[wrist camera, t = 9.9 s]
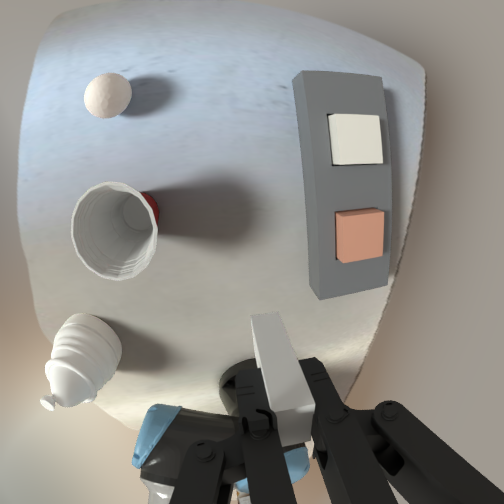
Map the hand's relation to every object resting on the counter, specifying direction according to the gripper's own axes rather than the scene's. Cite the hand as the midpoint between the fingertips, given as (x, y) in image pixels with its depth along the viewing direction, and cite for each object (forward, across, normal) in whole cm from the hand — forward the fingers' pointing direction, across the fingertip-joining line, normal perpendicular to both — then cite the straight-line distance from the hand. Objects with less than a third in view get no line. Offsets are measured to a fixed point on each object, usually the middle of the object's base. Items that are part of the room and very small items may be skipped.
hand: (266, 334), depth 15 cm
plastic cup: (+27, +14, -4) cm, 30 cm away
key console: (+26, -16, -5) cm, 31 cm away
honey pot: (+27, +30, +18) cm, 44 cm away
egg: (+26, +15, -21) cm, 37 cm away
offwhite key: (+23, -16, -11) cm, 30 cm away
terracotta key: (+23, -17, +2) cm, 28 cm away
